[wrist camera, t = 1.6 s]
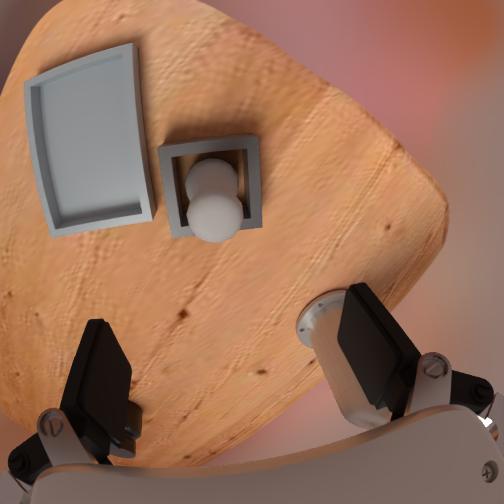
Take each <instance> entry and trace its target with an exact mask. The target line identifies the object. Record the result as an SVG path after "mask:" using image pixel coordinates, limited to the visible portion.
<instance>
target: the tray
mask: <svg viewBox="0 0 504 504" xmlns="http://www.w3.org/2000/svg"><path fill="white" fill-rule="evenodd" d="M24 97H25V112H26V123H27V132H28V140H29V146H30V153H31V159H32V164H33V169H34V174H35V179H36V184H37V188H38V192H39V196H40V200H41V204H42V208H43V212H44V215H45V219H46V222H47V225H48V229H49V232H50V235H51V238H55V237H60V236H66V235H71V234H76V233H82V232H87V231H93V230H98V229H104V228H110V227H116V226H122V225H128V224H135V223H141V222H148V221H153V219H154V216H155V214H156V212H157V211H156V206H155V200H154V194H153V188H152V182H151V176H150V169H149V163H148V155H147V148H146V140H145V132H144V123H143V113H142V102H141V89H140V74H139V51H138V48H137V47H136V46H135V45H134V44H133V43H129V44H125V45H121V46H117V47H113V48H110V49H106V50H103V51H100V52H96V53H93V54H90V55H87V56H84V57H82V58H79V59H76V60H73V61H71V62H68V63H65V64H63V65H60V66H58V67H56V68H53V69H51V70H49V71H46V72H44V73H42V74H40V75H38V76H36V77H34V78H32V79H30V80H28V81H26V82H24Z"/></svg>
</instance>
